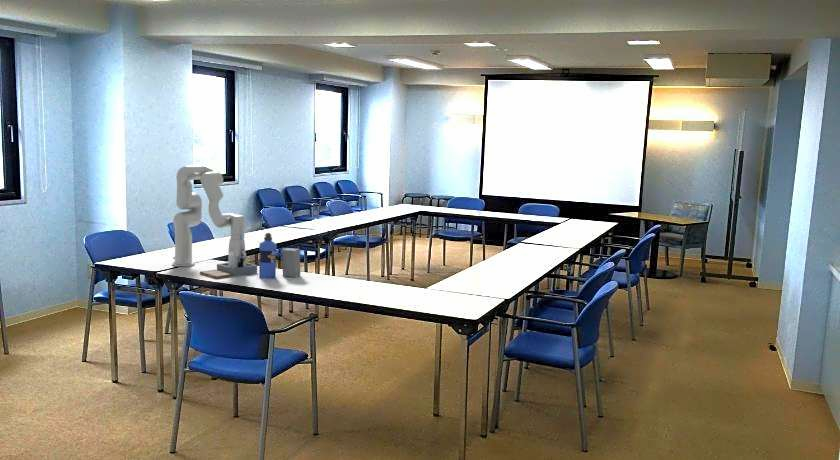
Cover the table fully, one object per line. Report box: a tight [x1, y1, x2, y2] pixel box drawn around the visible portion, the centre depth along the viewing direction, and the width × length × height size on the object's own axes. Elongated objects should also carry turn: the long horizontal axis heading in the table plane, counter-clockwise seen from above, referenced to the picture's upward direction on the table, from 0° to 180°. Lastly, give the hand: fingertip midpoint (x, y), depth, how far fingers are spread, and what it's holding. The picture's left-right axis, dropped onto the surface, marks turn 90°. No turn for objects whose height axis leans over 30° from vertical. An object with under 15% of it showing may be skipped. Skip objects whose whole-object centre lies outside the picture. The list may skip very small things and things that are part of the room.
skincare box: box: [281, 247, 301, 278], centre depth 399 cm, size 8×7×16 cm
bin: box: [216, 262, 258, 277], centre depth 402 cm, size 16×16×4 cm
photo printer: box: [227, 252, 247, 268], centre depth 401 cm, size 10×4×12 cm, turn 123°
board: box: [199, 268, 233, 280], centre depth 391 cm, size 16×10×2 cm, turn 50°
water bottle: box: [258, 232, 277, 279], centre depth 393 cm, size 9×9×25 cm
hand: (237, 267), depth 402 cm, fingers open, 5 cm apart
